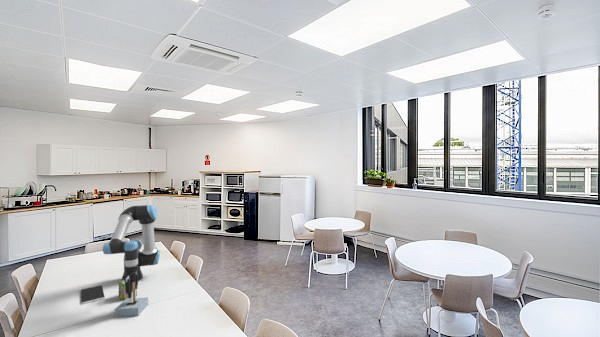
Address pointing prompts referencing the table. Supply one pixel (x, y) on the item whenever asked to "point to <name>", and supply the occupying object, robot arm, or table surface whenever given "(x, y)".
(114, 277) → the table surface
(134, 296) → the dowel
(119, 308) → the socket block
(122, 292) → the chalk box
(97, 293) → the smartphone
